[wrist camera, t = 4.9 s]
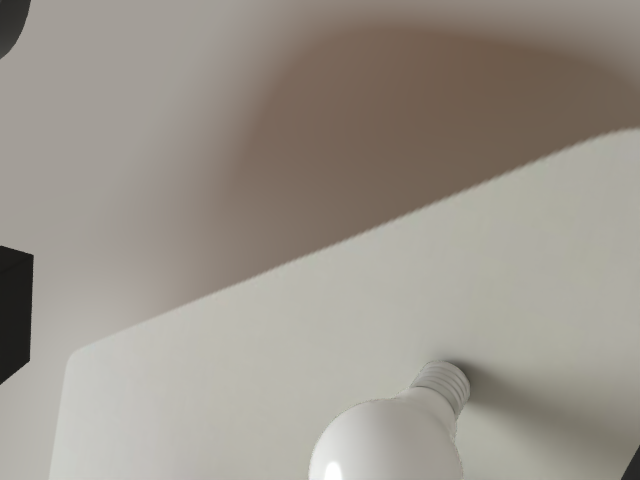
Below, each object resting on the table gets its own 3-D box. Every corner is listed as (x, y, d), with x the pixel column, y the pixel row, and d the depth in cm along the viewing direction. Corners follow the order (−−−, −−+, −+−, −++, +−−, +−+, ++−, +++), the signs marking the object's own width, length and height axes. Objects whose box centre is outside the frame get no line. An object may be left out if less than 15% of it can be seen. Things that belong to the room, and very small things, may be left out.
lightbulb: (484, 449, 29) (399, 637, 21) (380, 386, 32) (266, 533, 23) (532, 364, 26) (455, 546, 17) (413, 300, 28) (293, 434, 20)
